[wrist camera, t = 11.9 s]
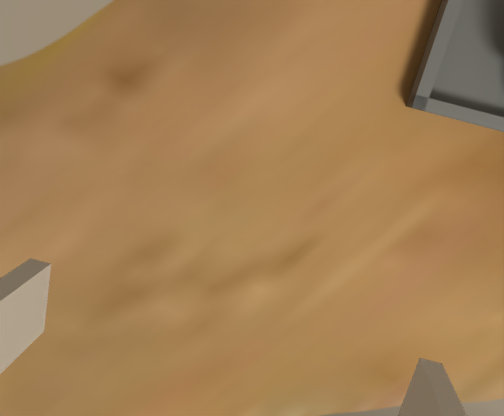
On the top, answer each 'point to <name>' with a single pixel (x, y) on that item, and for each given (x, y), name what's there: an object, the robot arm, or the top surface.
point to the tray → (464, 64)
